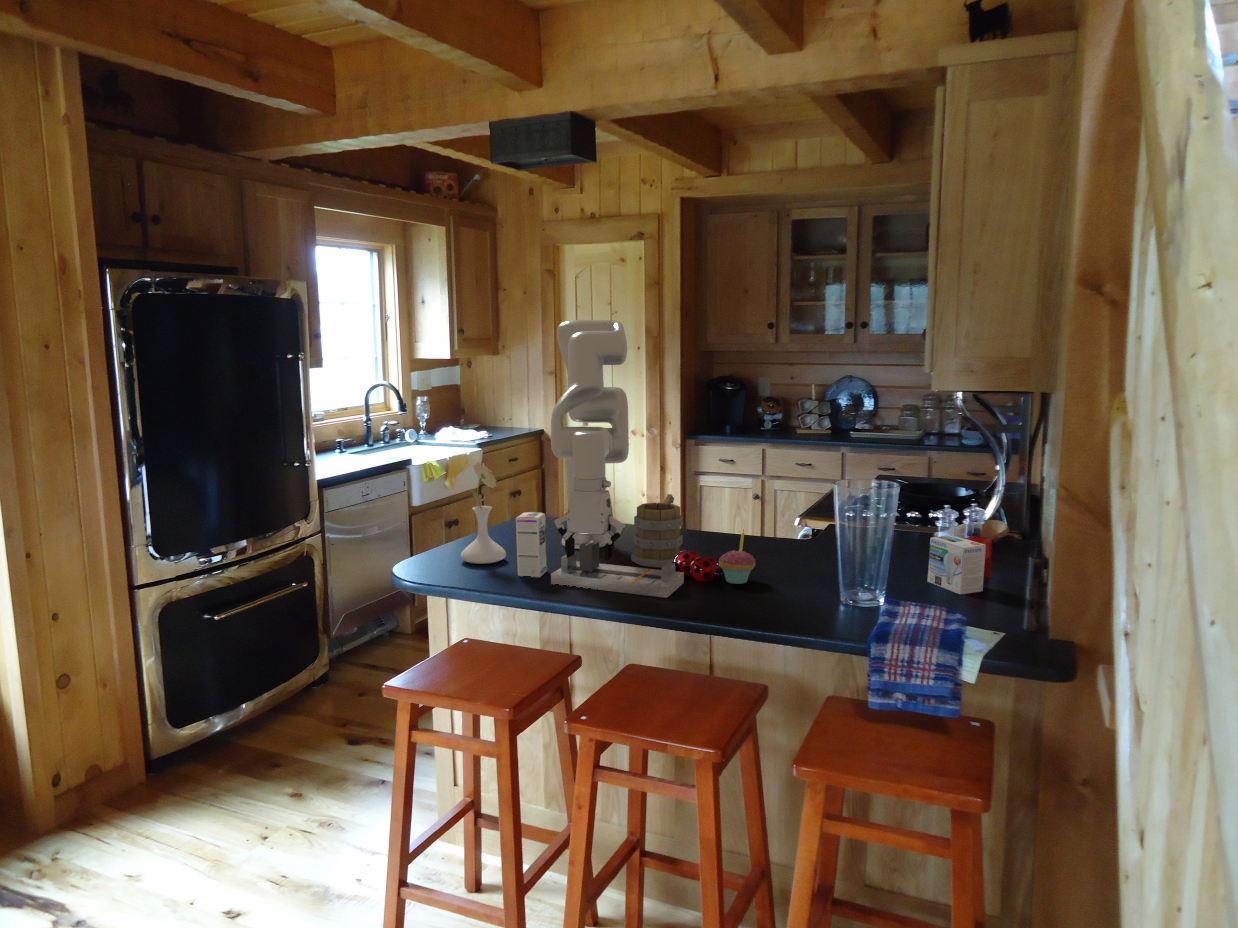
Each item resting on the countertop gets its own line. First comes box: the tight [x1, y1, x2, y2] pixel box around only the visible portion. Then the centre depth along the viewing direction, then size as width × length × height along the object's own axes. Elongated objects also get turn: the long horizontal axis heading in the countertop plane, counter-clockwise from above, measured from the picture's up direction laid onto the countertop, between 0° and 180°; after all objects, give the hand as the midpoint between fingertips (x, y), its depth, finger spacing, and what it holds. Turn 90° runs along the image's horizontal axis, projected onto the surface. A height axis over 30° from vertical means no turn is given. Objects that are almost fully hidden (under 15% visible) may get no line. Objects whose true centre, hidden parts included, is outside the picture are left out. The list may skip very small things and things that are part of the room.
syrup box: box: [515, 511, 548, 578], centre depth 208 cm, size 6×6×14 cm
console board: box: [550, 552, 685, 599], centre depth 201 cm, size 12×28×6 cm, turn 68°
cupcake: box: [718, 529, 756, 585], centre depth 202 cm, size 9×8×12 cm
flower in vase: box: [460, 461, 507, 565], centre depth 219 cm, size 13×11×25 cm
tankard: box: [630, 493, 684, 569], centre depth 223 cm, size 20×13×15 cm, turn 160°
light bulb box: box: [927, 534, 987, 595], centre depth 198 cm, size 11×7×11 cm, turn 23°
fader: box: [579, 541, 600, 572], centre depth 203 cm, size 4×3×6 cm
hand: (589, 557), depth 202 cm, fingers open, 9 cm apart
